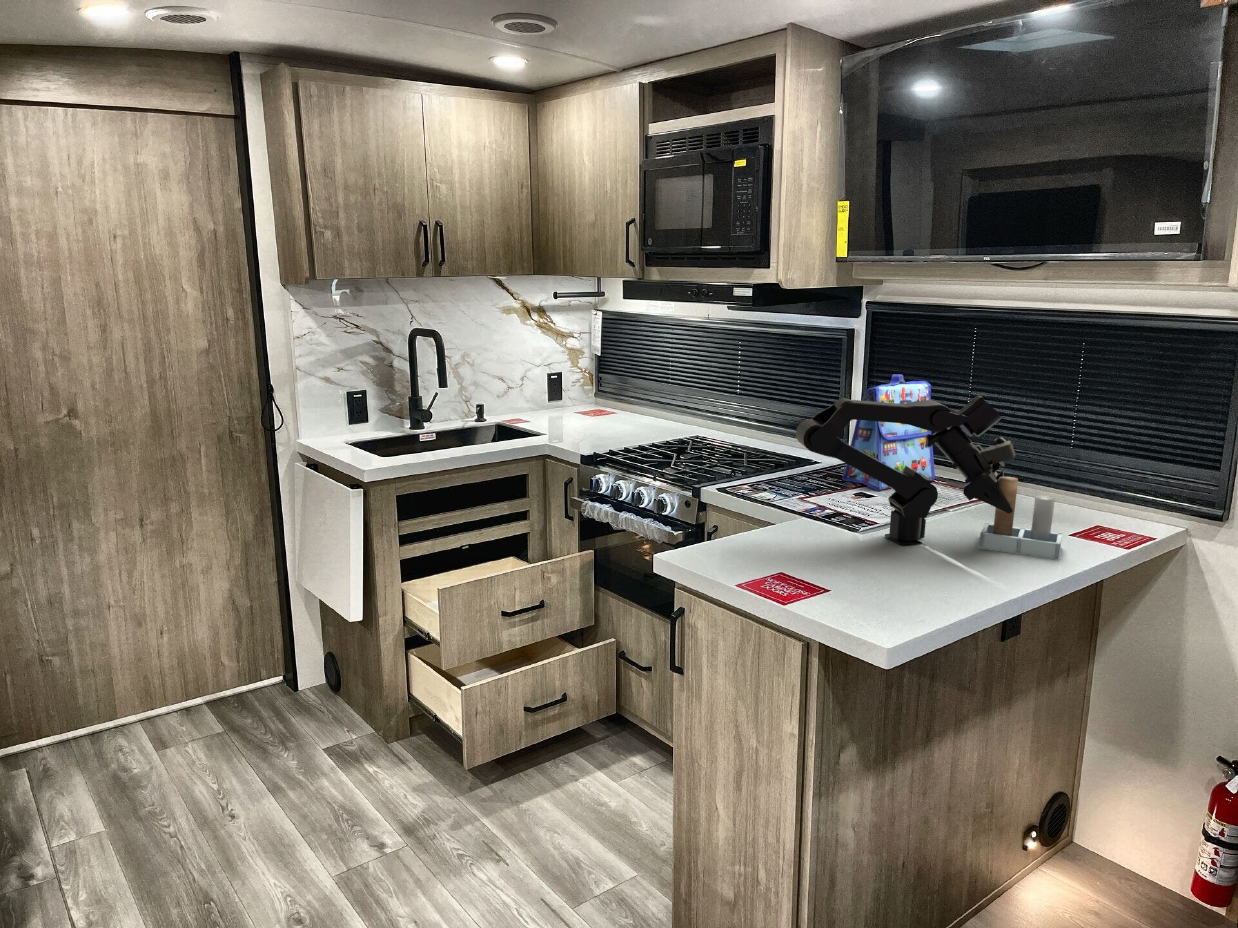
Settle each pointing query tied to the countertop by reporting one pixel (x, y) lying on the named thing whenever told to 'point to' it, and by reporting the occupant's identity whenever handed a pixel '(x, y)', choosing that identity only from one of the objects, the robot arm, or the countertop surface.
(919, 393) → the lunch bag
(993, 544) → the slot rack
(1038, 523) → the grey peg
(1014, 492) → the walnut peg
